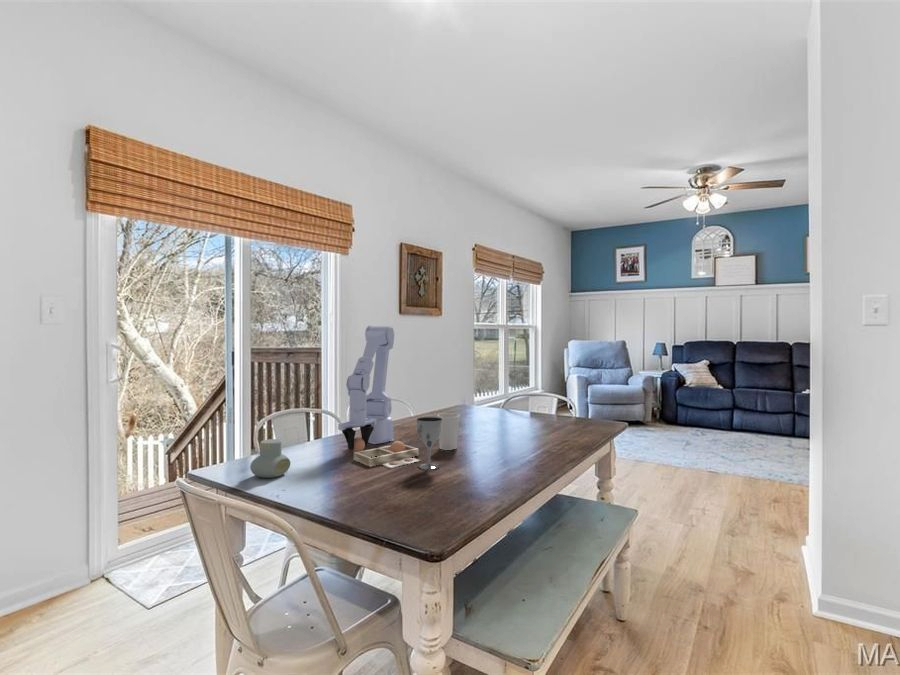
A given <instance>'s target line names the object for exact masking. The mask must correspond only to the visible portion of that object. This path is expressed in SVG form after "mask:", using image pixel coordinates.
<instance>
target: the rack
mask: <svg viewBox="0 0 900 675" xmlns="http://www.w3.org/2000/svg"><path fill="white" fill-rule="evenodd" d="M391 445H392V444H390V445H386V446H381V447H377V448H371V449H365V450H363V451H360V452H354V451H353V461H354V460H355V462H357V463H359V462H360V464H362V465H365V466H368V467H370V468H372V466H373V467H377V466H382V465H383V467H386V468H387V469H396V468H400V467H404V466H408V465H412V464H415V463H414V462H417V463H420V462H419V461H421V462H422V460H421V459H417V458H416V457H415V456H417V457H419V455H420V454H419V448H417V447H413V446H410V445H408V444H404V445H405V451H401V452H397V453H394V452H391V450H390V447H391ZM375 456H377V457H375ZM371 457H372V458H371ZM412 457H413V458H412ZM411 463H412V464H411ZM407 464H408V465H407ZM376 465H377V466H376ZM403 465H404V466H403ZM399 466H400V467H399Z"/></svg>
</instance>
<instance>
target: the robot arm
mask: <svg viewBox="0 0 900 675" xmlns="http://www.w3.org/2000/svg"><path fill="white" fill-rule="evenodd" d="M364 336H365V342H366V344H365V348H364V350H363V354H362V357H361V356H360V357H359V358H358V359H357V362H356V365H355V367H354V369H353V371H352V374H350V375H349V376H348V377H347V379H346V390H347V395H348V397H349V421H345V422H342V423H339V424H338V427H337V429H338V431H341V432H342V434H343V436H344V438H345V440H346V444H347V448H348V450H351V451H353V450H354V439H355V438H356V433H357V431H356V430H354V429H356V428H359V429H360V434H361V439H363V440H364V442H365V448H368V444H372V445H377V444H378V445H379V444H383V443H388V442H389V441H390V442H395V439H394V421H393V418H392V417H390V416H391V414H392V407H393V406H392V398H391V397H390V396H389V395H388V394H387V393H386V384H387V383H386V382H387V374H388V366H389V363H388V362H389V354H390V350H392V349H394V348H393V347H394V342H395V341H394V340H395V332H394V328H393V327H392V325H384V326H383V325H367V327H366V328H365V333H364ZM374 357H375V361H373V358H374ZM373 367H374V368H373ZM372 370H373V378H372V384H371V386H372V387H371V391H370V392H369V393H368V394H367V391H369V388H370V382H371V373H372ZM390 442H389V443H390Z"/></svg>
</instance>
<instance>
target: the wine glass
mask: <svg viewBox="0 0 900 675" xmlns="http://www.w3.org/2000/svg"><path fill="white" fill-rule="evenodd" d="M416 431H417V435H418V438H419V439H420V440H421V442H422V443H423V444H424V446H425V447H426V451H427V463H423V464H419V465H420V466H419V465H418V466H419V467H420V468H421V469H435V468H437V467H438V465H439V464H437V465H436V463H431V455H432V449H433V446H434V445H435V444H436V442H437V441H439V437H440V435H441V431H442V418H440V417H437V416H421V417H417V418H416ZM421 469H420V470H421Z"/></svg>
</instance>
